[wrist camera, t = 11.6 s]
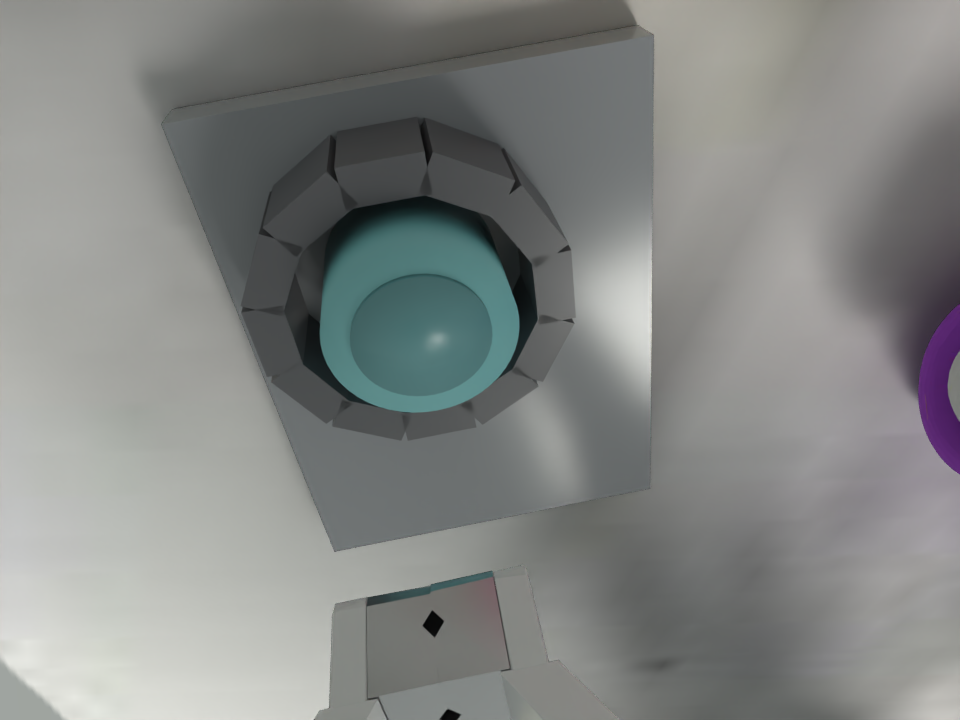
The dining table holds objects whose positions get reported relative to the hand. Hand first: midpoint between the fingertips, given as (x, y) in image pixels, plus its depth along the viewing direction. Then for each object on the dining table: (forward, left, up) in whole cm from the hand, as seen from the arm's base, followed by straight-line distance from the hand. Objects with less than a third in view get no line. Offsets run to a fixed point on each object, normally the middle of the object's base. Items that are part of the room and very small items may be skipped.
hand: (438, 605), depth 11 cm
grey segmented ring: (0, 0, -11) cm, 11 cm away
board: (-3, -1, -12) cm, 13 cm away
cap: (0, 0, -11) cm, 11 cm away
